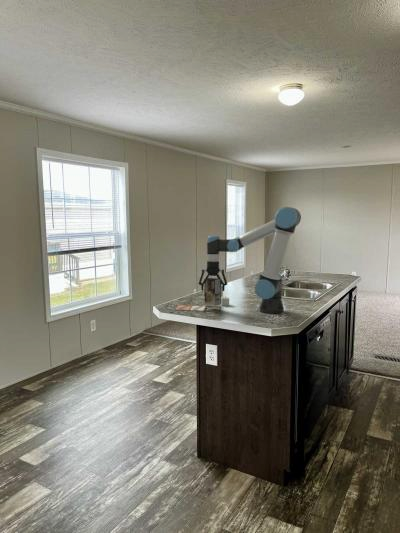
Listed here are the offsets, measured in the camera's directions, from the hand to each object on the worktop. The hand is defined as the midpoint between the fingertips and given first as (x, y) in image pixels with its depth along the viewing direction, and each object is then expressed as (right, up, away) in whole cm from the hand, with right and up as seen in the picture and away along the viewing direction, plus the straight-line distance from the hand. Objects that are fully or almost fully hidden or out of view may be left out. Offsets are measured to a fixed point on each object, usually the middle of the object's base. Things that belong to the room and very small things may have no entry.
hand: (212, 296), depth 242 cm
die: (+8, -7, +14) cm, 18 cm away
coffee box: (0, -5, +1) cm, 5 cm away
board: (-9, -8, +2) cm, 13 cm away
